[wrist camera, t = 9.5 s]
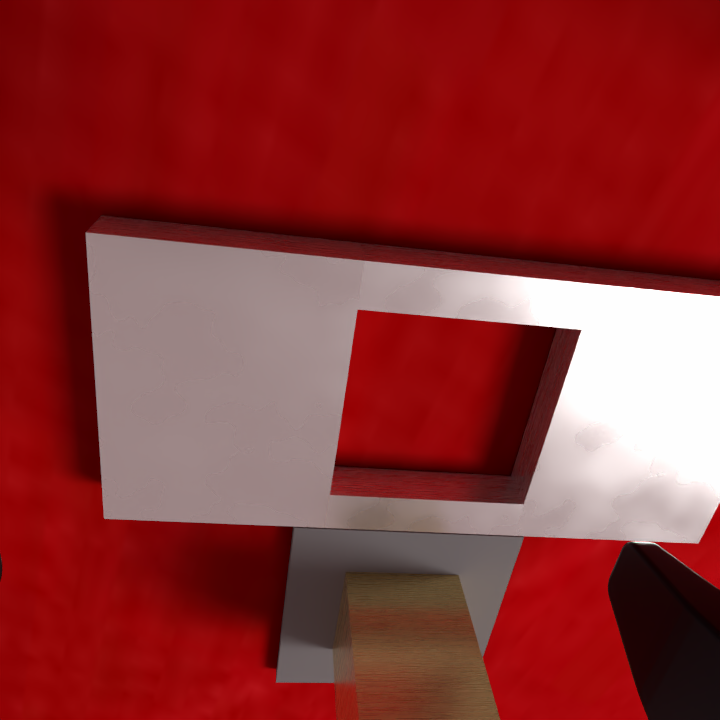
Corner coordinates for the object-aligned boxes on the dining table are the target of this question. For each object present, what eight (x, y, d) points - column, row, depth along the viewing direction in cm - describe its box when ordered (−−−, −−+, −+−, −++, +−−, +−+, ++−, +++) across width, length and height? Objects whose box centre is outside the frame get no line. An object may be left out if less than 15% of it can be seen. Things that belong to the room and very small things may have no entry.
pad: (519, 526, 26) (523, 537, 25) (470, 671, 30) (473, 683, 29) (294, 516, 24) (294, 527, 24) (276, 670, 29) (276, 682, 28)
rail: (786, 287, 22) (820, 307, 20) (676, 514, 26) (698, 543, 25) (101, 215, 18) (85, 232, 17) (115, 487, 23) (104, 518, 22)
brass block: (458, 574, 26) (509, 750, 20) (436, 650, 28) (476, 829, 22) (345, 571, 25) (361, 751, 19) (332, 649, 27) (343, 833, 21)
